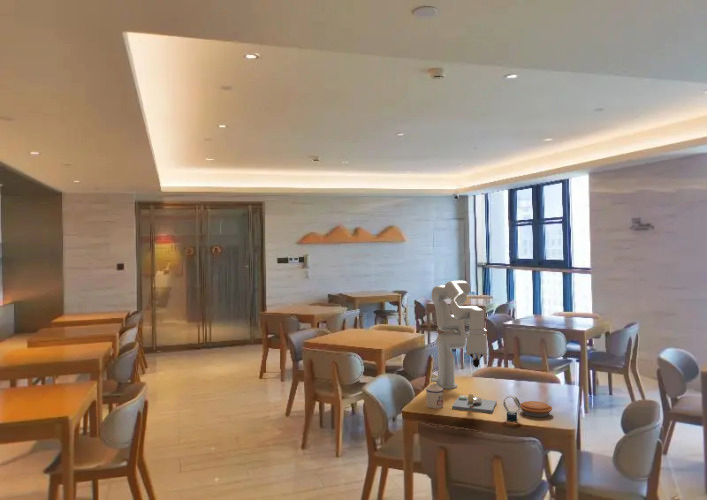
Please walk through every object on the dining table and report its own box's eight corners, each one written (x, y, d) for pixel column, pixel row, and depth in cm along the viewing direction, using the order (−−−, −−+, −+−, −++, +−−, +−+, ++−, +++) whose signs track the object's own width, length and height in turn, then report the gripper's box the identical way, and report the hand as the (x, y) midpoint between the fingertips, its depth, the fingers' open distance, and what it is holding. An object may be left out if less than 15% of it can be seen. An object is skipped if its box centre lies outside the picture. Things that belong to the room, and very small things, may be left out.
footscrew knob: (469, 400, 277) (469, 388, 277) (482, 401, 274) (482, 389, 274) (463, 406, 266) (463, 394, 266) (477, 408, 263) (477, 395, 263)
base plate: (452, 408, 268) (452, 402, 268) (458, 399, 284) (458, 393, 284) (492, 413, 260) (492, 406, 260) (496, 403, 277) (496, 397, 277)
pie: (555, 419, 251) (555, 409, 251) (521, 418, 253) (521, 407, 253) (548, 410, 266) (548, 400, 266) (517, 408, 268) (517, 398, 268)
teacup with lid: (439, 409, 266) (439, 386, 266) (423, 407, 271) (423, 384, 271) (448, 404, 276) (448, 381, 277) (432, 401, 281) (432, 379, 281)
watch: (520, 421, 247) (520, 398, 247) (502, 420, 250) (502, 396, 250) (521, 418, 252) (521, 395, 252) (504, 416, 255) (503, 393, 255)
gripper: (489, 330, 279) (488, 365, 279) (461, 330, 280) (460, 364, 280) (492, 333, 271) (492, 368, 272) (463, 333, 272) (462, 368, 273)
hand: (476, 366), depth 276 cm, fingers closed
